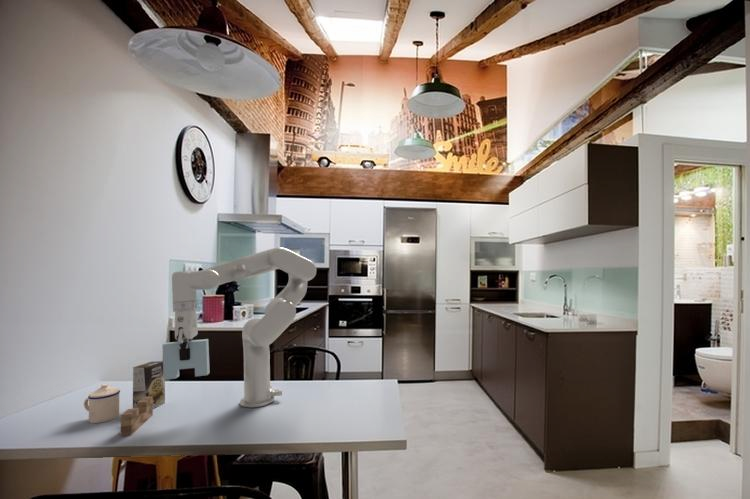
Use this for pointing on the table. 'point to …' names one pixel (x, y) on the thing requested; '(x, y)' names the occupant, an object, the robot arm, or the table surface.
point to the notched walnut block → (136, 416)
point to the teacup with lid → (103, 404)
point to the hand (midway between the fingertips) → (186, 358)
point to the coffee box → (149, 383)
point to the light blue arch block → (197, 360)
